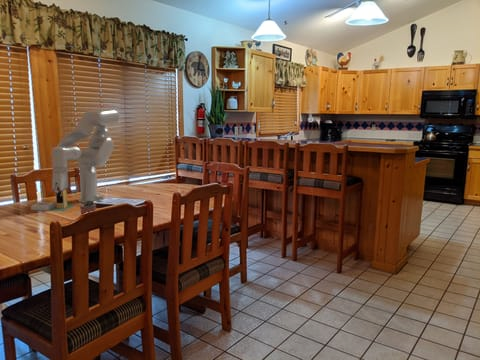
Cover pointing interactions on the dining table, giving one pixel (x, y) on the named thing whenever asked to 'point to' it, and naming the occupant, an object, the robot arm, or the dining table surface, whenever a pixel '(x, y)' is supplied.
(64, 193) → the plug
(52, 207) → the board
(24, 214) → the dining table surface
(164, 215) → the dining table surface
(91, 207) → the lighter
